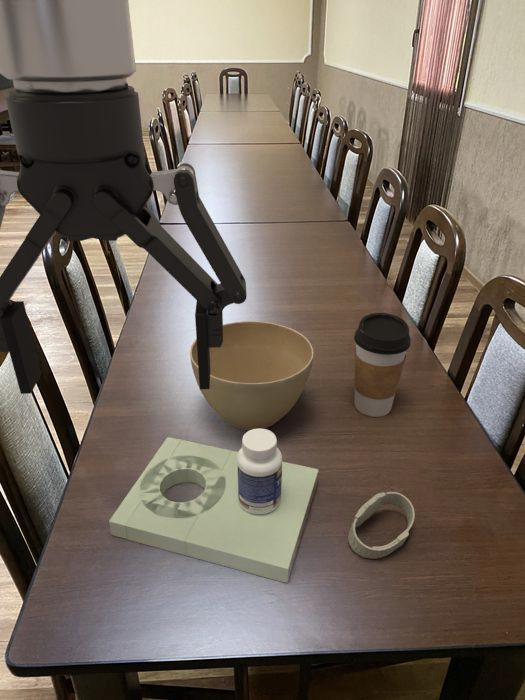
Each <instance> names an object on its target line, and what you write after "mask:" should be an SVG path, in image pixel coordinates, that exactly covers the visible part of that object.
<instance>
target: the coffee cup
mask: <svg viewBox="0 0 525 700" xmlns="http://www.w3.org/2000/svg"><path fill="white" fill-rule="evenodd" d="M353 340H354V343H355V348H354V407H355V409H356V410H357V411H358V412H359V413H361V414H362V415H364V416H367V417H371V418H381V417H384V416H386V415H388V414H389V413H390V412H391V411H392V408H393V404H394V400H395V396H396V393H397V390H398V387H399V384H400V379H401V376H402V373H403V369H404V366H405V362H406V359H407V354H406V353H407V351H408V350H409V349H410V347H411V343H412V342H411V340H412V338H411V336H410V327H409V325H408V323H407V322H406V320H405V319H403V318H402V317H400V316H397V315H395V314H392V313H387V312H374V313H369V314H366V315H365V316H363V317H362V318H361V319H360V320H359V324H358V327H357V328H356V330H355V333H354V336H353Z"/></svg>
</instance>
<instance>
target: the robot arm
mask: <svg viewBox="0 0 525 700" xmlns="http://www.w3.org/2000/svg"><path fill="white" fill-rule="evenodd" d="M130 11H131V10H130V3H129V0H0V75H1V76H3V77H5V78H6V79H7V80H12V84H13V87H12V88H10V89H7V94H6V95H4V98H5V103H6V107H7V112H8V117H9V120H10V125H11V130H12V135H13V139H14V143H15V144H14V145H15V148H16V153H17V155H18V159H19V165H20V166H19V171H12V170H3V169H2V168H1V167H0V229H1V227H2V224H3V220H4V216H5V213H6V209H7V205H8V204H9V203H11V202H12V201H13V200H14V199H15V195H16V194H15V193H17V192H18V193H19V194H20V195H21V197H22V198H23V199H24V200H25V201H26V202H27V203H28V204H29V205H30V206H31V207H32V208H33V209H34V210H35V211H36V212H37V214H39V216H38V217H37V219H36V221H35V222H34V223H33V225H32V227H31V228H30V230H29V231H28V233H27V234H26V236H25V238H24V240H23V241H22V243H21V245H20V246H19V248H17V251H16V252H15V253H14V254H13V256H12V258H11V259H10V260H9V263H8V264H7V266H6V267H5V268H4V270H3V272H2V273H1V275H0V353H9V356H10V360H11V364H12V367H13V371H14V374H15V377H16V381H17V385H18V389H19V392H20V395H24V394H25V395H26V394H29V395H30V394H32V392H33V391H34V388H35V387H36V385H37V383H38V381H39V379H40V377H41V376H42V371H41V367H40V366H41V365H40V363H39V359H38V355H37V350H36V346H35V342H34V337H33V334H32V329H31V326H30V321H29V318H28V314H27V310H26V305H25V301H23V300H17V301H16V300H13V301H12V302H11V301H10V300H11V298H13V296H14V295H15V292H16V291H17V290H18V288H19V287H20V286H21V284H22V282H23V281H24V279H25V278H26V277H27V275H28V274H29V272H30V271H31V269H32V268H33V266H34V265H35V263H36V262H37V260H38V259H39V258H40V256H41V255H42V254H43V252H44V250H46V247H47V246H49V245H48V244H49V243H50V242H51V241H52V239H53V237H54V236H55V235H56V233H57V234H59V235H60V236H62V237H64V238H67V239H68V242H83V241H86V240H90V239H94V240H95V239H96V240H101V241H104V242H117V241H118V239H119V238H122V237H123V236H125V235H126V236H127V237H128V238H129V240H131V241H132V242H133V244H135V245H136V246H137V247H138V248H140V249H143V250H145V251H146V252H147V253H148V254H149V255H150V256H151V258H153V259H154V261H156V262H157V263H158V264H159V265H160V266H161V267H162V268H163V269H164V270H165V271H166V272H167V273H168V274H169V275H170V276H171V277H172V278H173V279H174V280H175V281H176V282H177V283H178V284H179V285H181V287H182V288H183V289H185V290H186V291H187V293H189V294H190V296H192V297H193V298H194V299H195V300H196V305H195V311H194V312H195V313H194V321H195V337H196V338H195V339H197V353H198V369H199V385H200V388H199V390H200V389H210V350H209V348H210V347H221V345H222V343H223V325H224V317H223V315H224V314H223V311H224V309H225V308H226V307H227V306H229V305H233V304H235V305H240V304H243V303H245V301H246V300H247V295H248V294H247V282H246V279H245V277H244V275H243V273H242V271H241V269H240V268H239V266H238V264H237V262H236V260H235V258H234V257H233V255H232V253H231V251H230V250H229V248H228V246H227V243H226V242H225V240H224V238H223V236H222V234H221V233H220V232H219V230H218V228H217V226H216V224H215V223H214V221H213V219H212V217H211V215H210V213H209V212H208V210H207V208H206V206H205V204H204V202H203V200H202V199H201V197H200V194H199V187H198V181H197V177H196V171H195V167H194V166H193V165H192V164H190V163H187V162H183V163H181V164H179V165H178V167H177V168H173V169H166V170H158V171H152V169H151V168H150V167H149V164H148V162H147V159H146V155H145V146H144V137H143V127H142V117H141V107H140V97H139V92H138V91H135V87H134V86H132V85H129V83H128V82H127V79H128V78H131V77H133V76H134V74H135V73H136V72H137V65H136V58H135V57H136V56H135V48H134V40H133V30H132V21H131V12H130ZM154 191H155V192H160V193H161V194H163V196H164V198H165V200H166V201H167V203H169V204H170V205H172V206H178V209H179V212H180V215H181V217H182V219H183V221H184V222H185V224H186V226H187V228H188V229H189V231H190V233H191V235H192V236H193V238H194V240H195V242H196V244H197V245H198V246H199V248H200V250H201V252H202V254H203V255H204V257H205V259H206V260H207V263H208V264H209V266H210V267H211V269H212V271H213V272H214V274H215V276H216V278H217V279H218V281H219V282H220V283H218V282H217V281H216V280H214V278H213V277H211V275H209V273H208V272H207V271H206V270H205V269H204V268H203V267H202V266H201V265H200V263H198V262H197V261H196V260H195V259H194V258H193V257H192V256H191V254H189V253H188V252H187V251H186V250H185V249H184V247H183V246H182V245H181V244H180V243H179V242H178V241H177V240H175V239H174V237H173V236H171V234H170V233H169V231H167V230H166V229H165V228H164V227H163V226H162V225H161V223H160V221H159V219H158V218H157V217H156V215H154V214H153V212H151V211H150V210H149V208H148V207H146V205H147V203H148V202H149V200H150V199H151V197H152V195H153V192H154Z"/></svg>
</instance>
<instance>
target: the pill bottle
mask: <svg viewBox="0 0 525 700" xmlns="http://www.w3.org/2000/svg"><path fill="white" fill-rule="evenodd" d="M241 441H242V442H241V448H240V449H239V450H238V451H237V452H238V454H237V484H238V492H237V493H238V501H239V504H240V506H241V507H242V508H243V509H244V510H245V511H247V512H249V513H252V514H266V513H269V512H272V511H273V510H275V509H276V508H277V507H278V505H279V503H280V500H281V485H282V462H283V455H282V452H281V450H280V448H278V440H277V436H276V435H275V433H274V432H273V431H271V430H269V429H267V428H265V429H253V430H250V431H248V430H247V432H245V433H244V434H243V436H242V439H241Z"/></svg>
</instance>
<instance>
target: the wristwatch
mask: <svg viewBox="0 0 525 700" xmlns="http://www.w3.org/2000/svg"><path fill="white" fill-rule="evenodd" d="M384 505H392V506H394V507H397V508H399V509H400V510H401V511H402V512H403V513H404V515H405V517H406V520H407V524H406V525H407V526H406V529H405V530H404V531H403V532H402V533H400V534H399V535H398V536H397V537H396V538H395V539H394V540H392V541H391V542H389V543H387V544H384V545H382V546H379V545H378V546H374V545H373V546H372V547H371V546H368V545H366V544H364V543H363V542H362V541H361V539H360V538H359V537H358V535H357V532H356V528H359V527H360V526H362V525H363V524H364V523H365V522H366V521H367V520H368V519H369V518H371V516H373V514H375V512H376V511H377V510H378V509H379V508H380V507H381V506H384ZM415 513H416V512H415V508H414V506H413V503H412V502H411V501H410V499H409V498H407V497H406V496H405V495H404V494H402V493H400V492H397V491H387V492H384V491H382V492H379V493H376V494H375V495H373V496H372V497H371V498H370V499H368V500H367V501H366V502H365V503H364V504H363V505H362V506H361V507H360V508H359V509H358V511H357V512H356V513H355V515H354V517H353V520H352V522H351V524H350V526H349V527H350V529H349V532H348V535H347V536H348V537H347V541H348V544H349V546H350V548H351V549H352V551H354V553H356V554H357V555H358V556H360V557H362V558H366V559H371V560H376V559H381V558H384V557H386V556H388V555H390V554H391V553H393V552H394V551H396V550H397V549H399V548H400V547H402V546H403V545H404V543H405V542H406V540H407V538H408V537H409V535H410V532H409V531H410V530H411V528H412V527H413V524H414V522H415V516H416V515H415Z"/></svg>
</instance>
